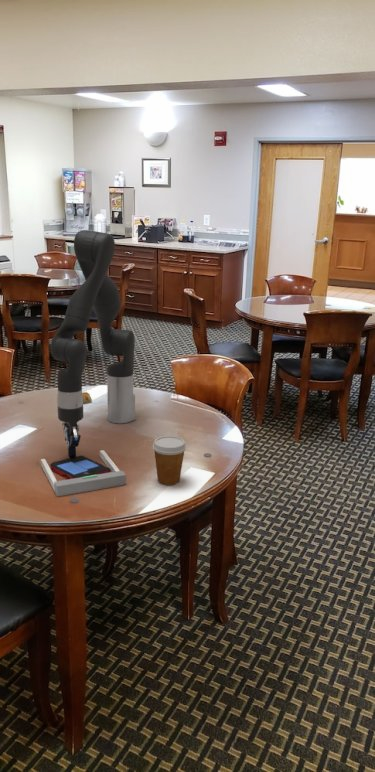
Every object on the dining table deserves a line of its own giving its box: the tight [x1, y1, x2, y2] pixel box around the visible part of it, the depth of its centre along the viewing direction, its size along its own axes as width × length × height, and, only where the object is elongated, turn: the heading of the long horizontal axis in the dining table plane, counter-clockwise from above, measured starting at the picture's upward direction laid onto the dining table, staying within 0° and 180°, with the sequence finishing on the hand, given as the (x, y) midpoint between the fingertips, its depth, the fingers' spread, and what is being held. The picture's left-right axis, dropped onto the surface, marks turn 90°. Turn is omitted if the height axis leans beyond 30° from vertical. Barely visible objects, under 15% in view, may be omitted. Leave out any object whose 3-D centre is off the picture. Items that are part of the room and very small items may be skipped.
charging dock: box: [40, 449, 127, 498], centre depth 172 cm, size 19×21×3 cm
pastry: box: [82, 391, 93, 405], centre depth 233 cm, size 9×7×4 cm
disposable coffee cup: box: [152, 435, 187, 486], centre depth 169 cm, size 10×10×12 cm
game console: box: [49, 455, 111, 480], centre depth 176 cm, size 14×13×2 cm
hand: (72, 456), depth 182 cm, fingers closed
